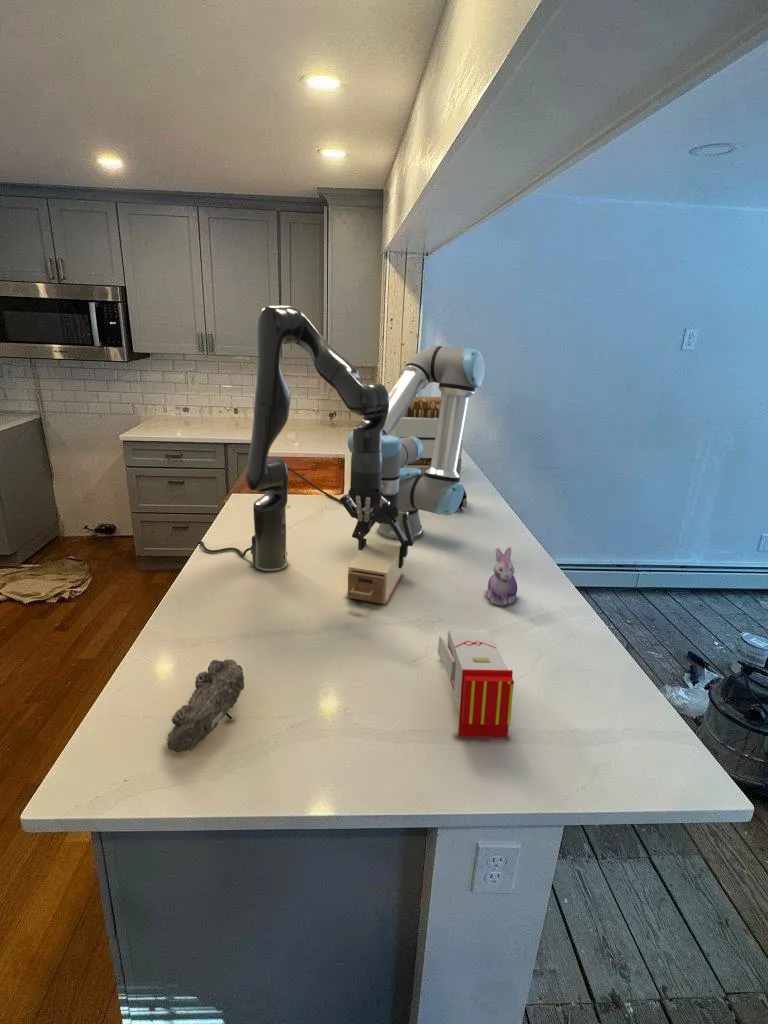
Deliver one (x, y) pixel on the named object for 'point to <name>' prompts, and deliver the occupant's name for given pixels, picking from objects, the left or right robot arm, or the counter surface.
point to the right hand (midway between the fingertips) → (382, 563)
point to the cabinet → (379, 564)
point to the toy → (478, 682)
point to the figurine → (502, 580)
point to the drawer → (365, 586)
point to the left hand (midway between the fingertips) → (364, 534)
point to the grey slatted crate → (423, 427)
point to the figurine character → (463, 502)
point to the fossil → (206, 705)
